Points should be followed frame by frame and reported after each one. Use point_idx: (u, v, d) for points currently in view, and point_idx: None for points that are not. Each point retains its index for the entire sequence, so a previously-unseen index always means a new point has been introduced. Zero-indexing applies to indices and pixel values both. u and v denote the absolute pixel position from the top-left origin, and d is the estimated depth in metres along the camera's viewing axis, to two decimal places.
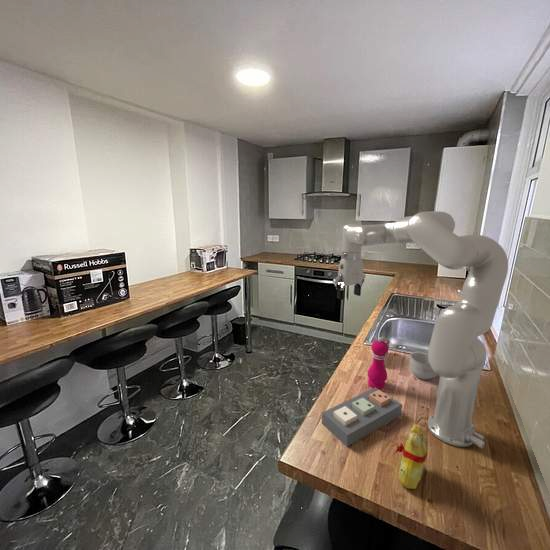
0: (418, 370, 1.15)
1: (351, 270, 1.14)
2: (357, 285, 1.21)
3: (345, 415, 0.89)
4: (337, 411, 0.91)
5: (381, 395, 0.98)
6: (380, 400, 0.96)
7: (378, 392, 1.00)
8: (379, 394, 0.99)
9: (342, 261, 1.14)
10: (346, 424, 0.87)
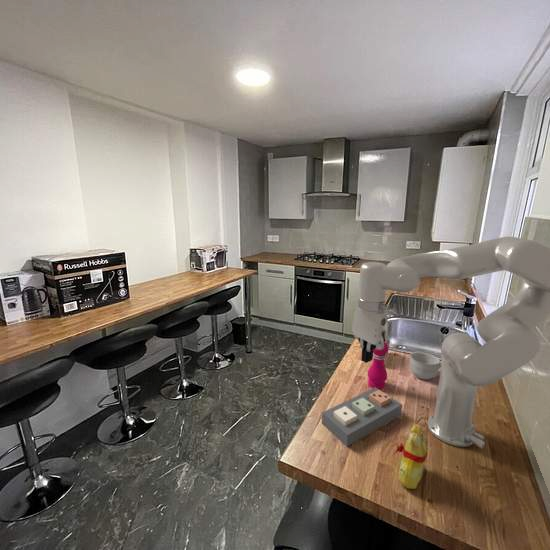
0: (418, 370, 1.15)
1: None
2: (367, 347, 0.90)
3: (345, 415, 0.89)
4: (337, 411, 0.91)
5: (381, 395, 0.98)
6: (380, 400, 0.96)
7: (378, 392, 1.00)
8: (379, 394, 0.99)
9: (382, 315, 0.83)
10: (346, 424, 0.87)
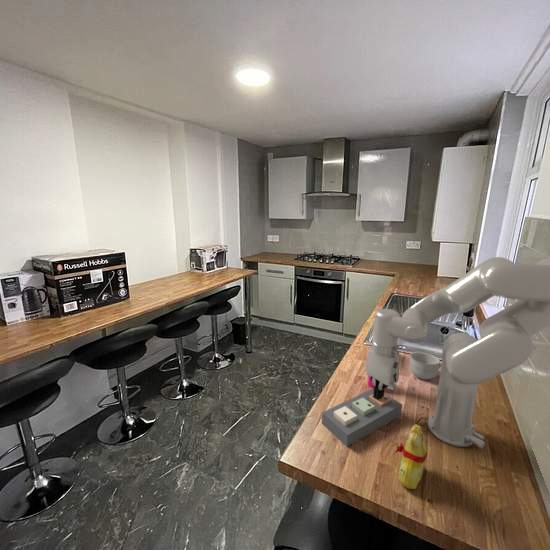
0: (418, 370, 1.15)
1: None
2: (378, 385, 0.98)
3: (345, 415, 0.89)
4: (337, 411, 0.91)
5: None
6: (380, 402, 0.96)
7: None
8: None
9: (394, 358, 0.91)
10: (346, 424, 0.87)
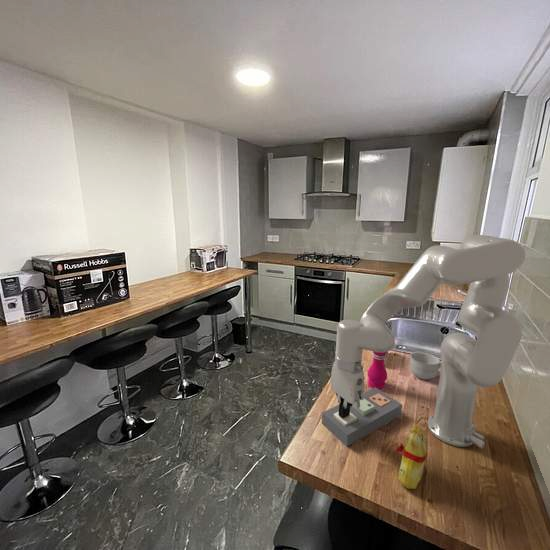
0: (418, 370, 1.15)
1: None
2: (344, 402, 0.89)
3: (345, 417, 0.89)
4: (337, 413, 0.91)
5: (381, 399, 0.98)
6: (379, 403, 0.96)
7: (378, 395, 1.00)
8: (379, 398, 0.99)
9: (358, 374, 0.82)
10: None
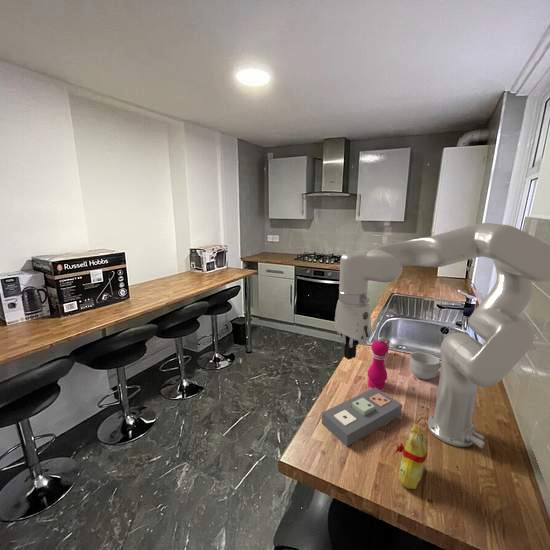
0: (418, 370, 1.15)
1: None
2: None
3: (345, 419, 0.89)
4: (337, 415, 0.91)
5: (381, 399, 0.98)
6: (379, 403, 0.96)
7: (378, 395, 1.00)
8: (379, 398, 0.99)
9: (364, 308, 0.78)
10: None
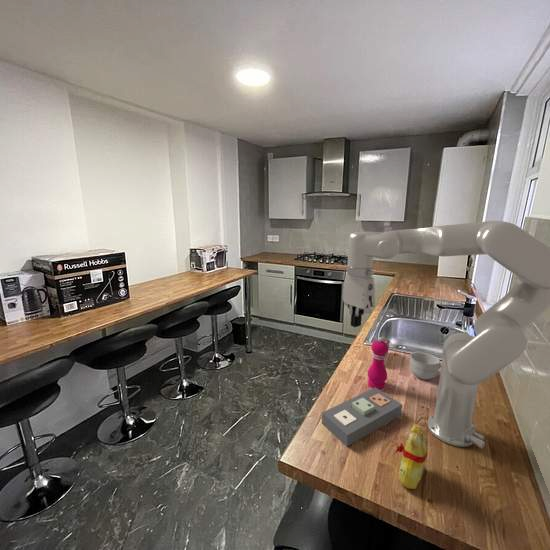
0: (418, 370, 1.15)
1: None
2: None
3: (345, 419, 0.89)
4: (337, 415, 0.91)
5: (381, 399, 0.98)
6: (379, 403, 0.96)
7: (378, 395, 1.00)
8: (379, 398, 0.99)
9: (369, 280, 0.89)
10: None
